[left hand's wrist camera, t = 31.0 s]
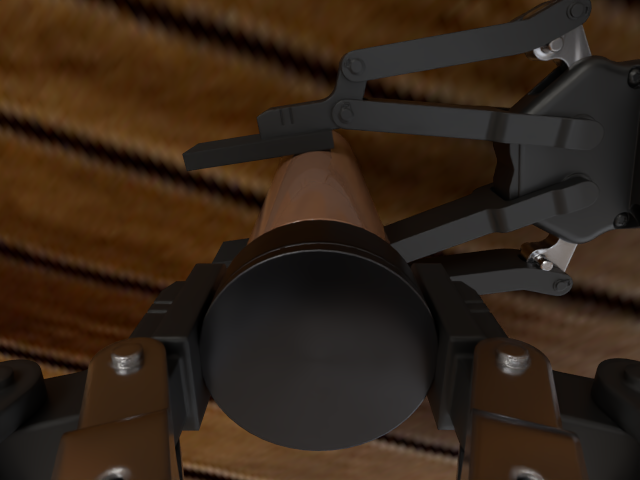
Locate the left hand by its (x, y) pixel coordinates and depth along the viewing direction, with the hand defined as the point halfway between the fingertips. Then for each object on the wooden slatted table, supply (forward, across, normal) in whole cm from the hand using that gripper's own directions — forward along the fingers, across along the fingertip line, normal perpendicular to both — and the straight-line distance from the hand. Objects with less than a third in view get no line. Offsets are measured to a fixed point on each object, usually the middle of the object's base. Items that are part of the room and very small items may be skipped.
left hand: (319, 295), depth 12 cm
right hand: (+10, -5, -1) cm, 11 cm away
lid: (-3, 0, 0) cm, 3 cm away
